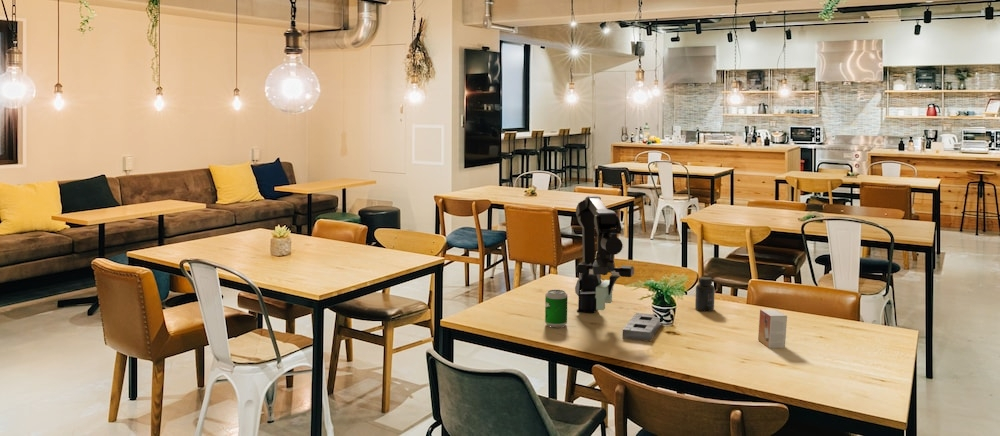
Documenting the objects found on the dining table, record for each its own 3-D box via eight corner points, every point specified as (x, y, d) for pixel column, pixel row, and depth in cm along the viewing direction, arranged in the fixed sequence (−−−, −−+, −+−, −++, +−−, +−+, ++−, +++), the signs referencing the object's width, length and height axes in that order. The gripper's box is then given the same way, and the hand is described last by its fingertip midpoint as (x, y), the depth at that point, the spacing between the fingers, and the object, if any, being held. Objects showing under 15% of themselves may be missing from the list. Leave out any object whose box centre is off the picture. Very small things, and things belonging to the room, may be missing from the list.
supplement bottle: (712, 307, 292) (713, 276, 290) (715, 312, 285) (716, 280, 283) (693, 306, 292) (694, 275, 290) (696, 311, 286) (697, 279, 284)
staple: (595, 309, 257) (595, 287, 256) (604, 300, 269) (604, 279, 268) (604, 310, 256) (604, 288, 255) (612, 301, 268) (613, 280, 267)
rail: (622, 338, 253) (622, 329, 252) (636, 320, 273) (636, 312, 272) (650, 341, 249) (650, 332, 249) (661, 323, 270) (662, 315, 269)
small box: (757, 340, 251) (759, 309, 249) (774, 340, 251) (776, 308, 250) (768, 348, 243) (770, 315, 242) (785, 347, 244) (787, 315, 242)
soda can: (570, 324, 269) (570, 290, 267) (562, 329, 262) (562, 295, 260) (549, 321, 272) (550, 288, 270) (541, 327, 265) (542, 292, 263)
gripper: (572, 251, 256) (571, 297, 258) (628, 255, 249) (626, 302, 251) (581, 245, 266) (580, 290, 268) (635, 249, 259) (633, 294, 262)
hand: (604, 294), depth 262 cm, fingers closed on staple, 3 cm apart
